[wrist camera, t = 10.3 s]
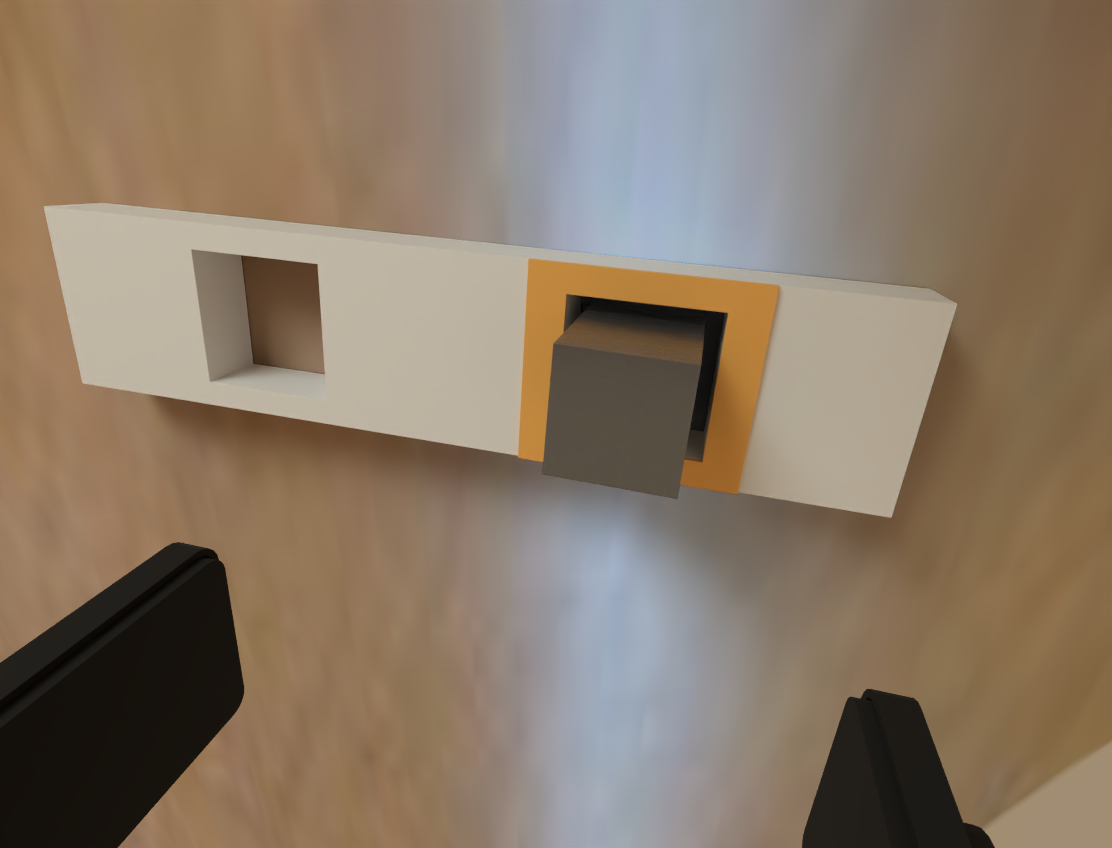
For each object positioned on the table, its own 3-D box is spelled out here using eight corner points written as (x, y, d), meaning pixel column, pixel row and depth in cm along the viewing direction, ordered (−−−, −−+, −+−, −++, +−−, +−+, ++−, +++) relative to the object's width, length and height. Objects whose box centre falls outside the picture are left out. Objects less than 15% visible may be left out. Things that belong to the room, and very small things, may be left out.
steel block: (598, 296, 27) (553, 343, 19) (706, 310, 26) (701, 365, 19) (587, 395, 28) (542, 473, 21) (688, 412, 28) (677, 499, 20)
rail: (103, 202, 30) (39, 206, 28) (930, 288, 24) (959, 305, 21) (134, 365, 34) (78, 384, 31) (873, 482, 27) (892, 520, 24)
